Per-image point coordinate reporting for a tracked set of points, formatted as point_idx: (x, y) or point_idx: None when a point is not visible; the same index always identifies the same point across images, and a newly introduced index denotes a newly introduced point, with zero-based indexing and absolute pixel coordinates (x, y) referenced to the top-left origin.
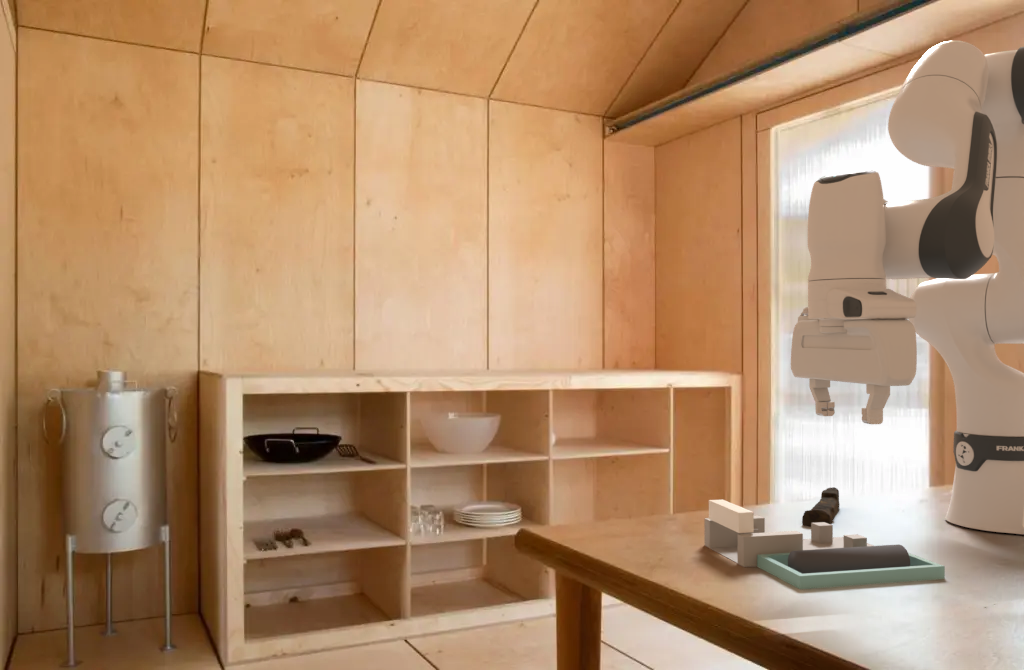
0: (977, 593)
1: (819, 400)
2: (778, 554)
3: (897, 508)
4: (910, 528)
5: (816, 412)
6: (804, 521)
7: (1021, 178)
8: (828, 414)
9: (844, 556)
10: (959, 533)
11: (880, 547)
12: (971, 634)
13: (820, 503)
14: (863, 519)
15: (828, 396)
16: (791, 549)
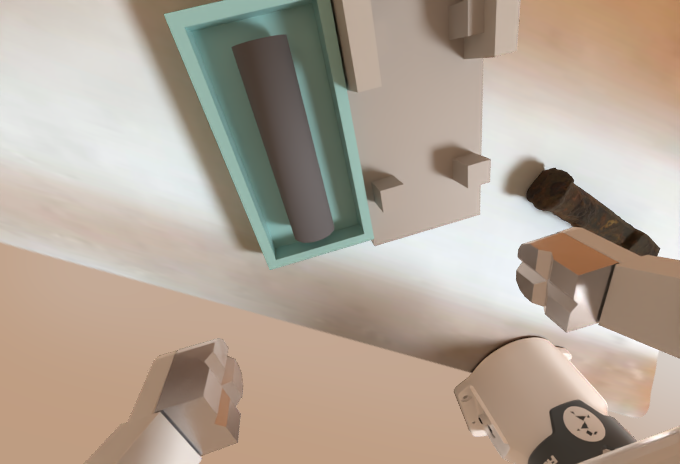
0: (254, 280)
1: (619, 275)
2: (327, 30)
3: None
4: (523, 297)
5: (575, 230)
6: (559, 173)
7: None
8: (526, 269)
9: (267, 139)
10: (490, 334)
11: (301, 208)
12: (64, 220)
13: (605, 217)
14: None
15: (636, 334)
16: (346, 65)
